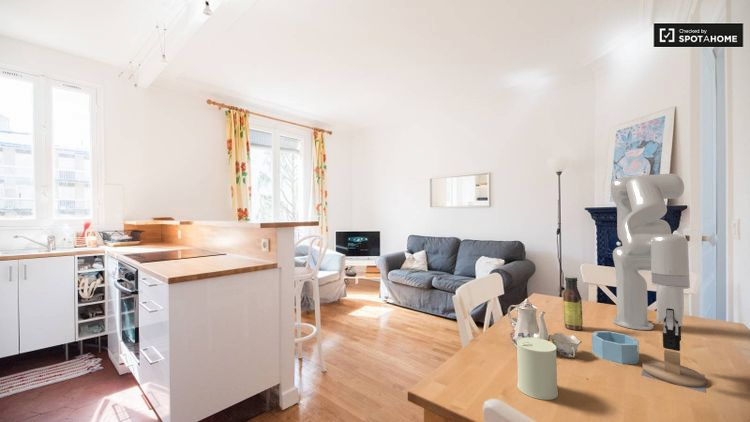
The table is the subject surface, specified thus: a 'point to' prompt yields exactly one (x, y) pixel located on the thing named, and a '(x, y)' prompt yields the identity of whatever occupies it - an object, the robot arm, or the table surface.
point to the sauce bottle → (572, 305)
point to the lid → (674, 371)
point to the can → (537, 368)
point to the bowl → (615, 347)
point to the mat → (679, 385)
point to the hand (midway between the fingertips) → (672, 344)
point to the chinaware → (539, 329)
